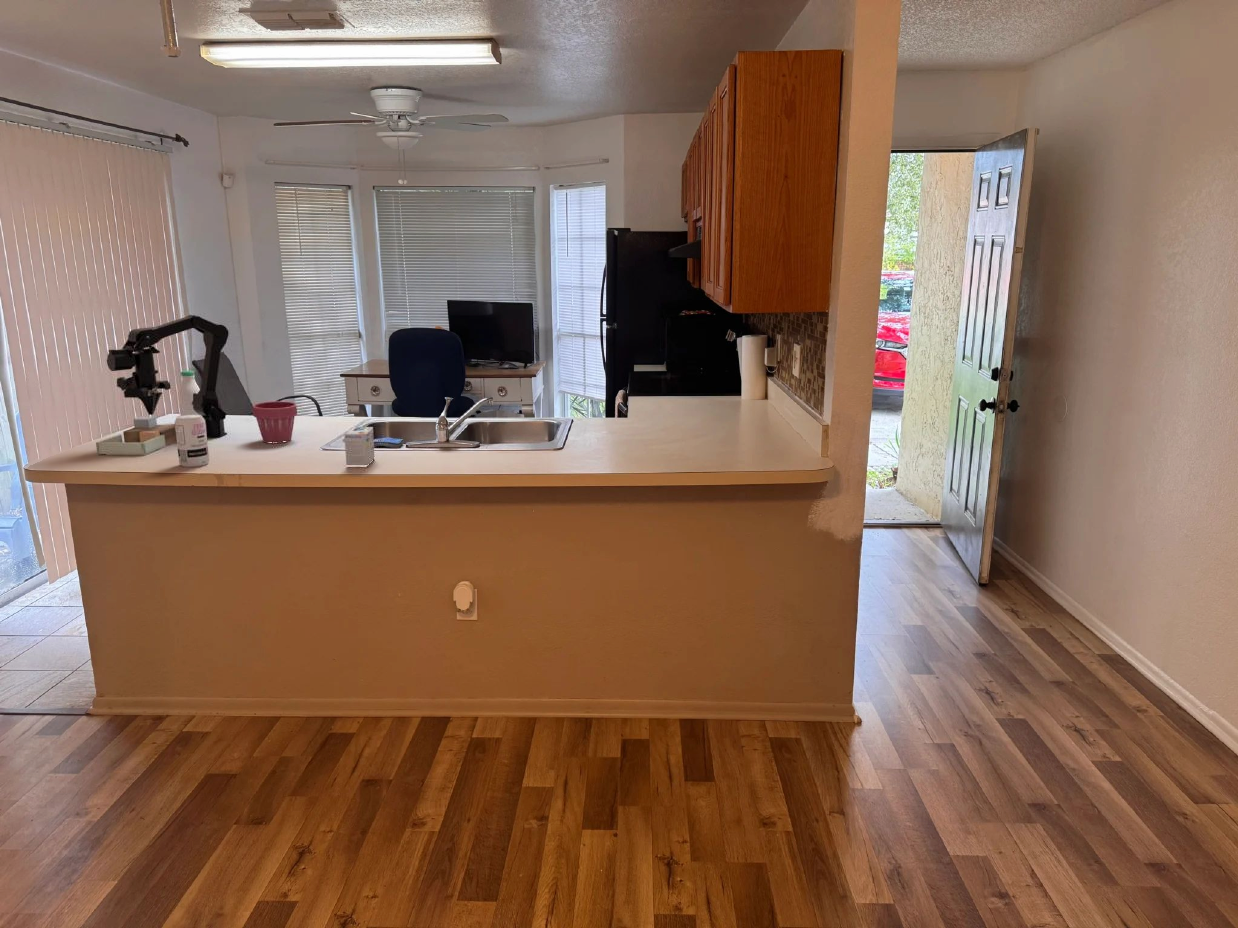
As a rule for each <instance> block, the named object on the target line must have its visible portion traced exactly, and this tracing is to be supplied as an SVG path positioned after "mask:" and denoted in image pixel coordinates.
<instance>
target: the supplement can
mask: <svg viewBox="0 0 1238 928" xmlns="http://www.w3.org/2000/svg"><path fill="white" fill-rule="evenodd" d="M174 425H175V430H176V439H177V441H176V446H177V454H178V464H179V465H181V466H182V467H183V468H197V467H198V468H199V467H203V466H205V465H206V466H207V465H208V463H210V457H209V456H210V454H209V447H208V437H207V435H206V425H205V420H204V418H203V417H202V415H198V414H189V415H181V414H180V415H177V416H176V418H175V420H174Z"/></svg>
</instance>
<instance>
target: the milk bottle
mask: <svg viewBox="0 0 1238 928" xmlns="http://www.w3.org/2000/svg"><path fill="white" fill-rule="evenodd" d="M195 374H196V373H195V371H194V370H181V371H180V377H181V383H180V387H179V390H178V402H179V403H178V404H179V411H180V413H179V414H180V416H181V415H189V414H198V413H196V412H195V410H194V409H193V405H192V404H191V403H192V402H193V393H197V394H198V392H199V391H200V389H201V388H200V387H199V385H198V384H197V382H196V379H195V377H196V376H195Z"/></svg>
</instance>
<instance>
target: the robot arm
mask: <svg viewBox="0 0 1238 928" xmlns="http://www.w3.org/2000/svg"><path fill="white" fill-rule="evenodd" d="M192 329H194V330H195V331H197V332H199V333H201V334H202V339H203V343H204V347H205V352H204V353H205V354H204V359H203V360H204V362H203V369H202V375H201V376H202V377H201V383H200V384H201V385H200V388H199V389H200V391H199V392H198V394H197V393H193V402H192V403H191V404H192V405H193V409H194V410H195V412H196V413H198V415H202V417H203V418H204V420H205V425H206V435H207V438H221V437H223V436H226V435H227V434H228V432H225V421H224V420H226V416H227V413H226V412H225V411H224V410H223V409H221V408H220V407H219V398H218V394H217V384H218V383H217V382H218V376H219V370H220V361H221V355H222V354H221V353H222V350H223V349H224V347H225V346H226V344H227V342H228V339H229V333H230V331H229V330H228V328H227V327H226V326H225V325H224V324H217V323H214V322H212V321H210V320H208V319H205V318H203V317H201V316H199V315H196V314H189V315H187V316H184V317H182V318H179V319H175V320H172V321H169V322H166V323H163V324H159V325H156V326H151V327H150V326H149V327H141V328H135V329H132V330H130V331H129V333H128V335H127V339H126V342H125V344H123V346H122V348H121V349H113V348H112V349H109V350H108V354H107V358H106V365H107V367H108V369H109V370H110V371H111V372H118V371H128V370H132V369H133V368H134V371H132V372H131V376H130V377H127V378H126V377H125V376H121V377H118V378H116V387H117V388H119V389H120V390H121V391H123V397H124V398H126V399H127V398H128V399H129V398H130V399H132V398H133V399H134V398H137V399H139V400H140V401H141V402H142V404H143V406H144V408H145V410H146V412H147V414H148V416H152V415H154V414H155V411H156V408H157V405H158V404H159V400H160V398H161V396H162V395H163V392H161V391H159V390H161V389H164V390H165V391H167V390H170V389H171V383H170V382H169V381H168V380H157V374H159V369H156V368H155V367H156V366H155V359H154V354H155V355H156V354H160V353H161V352H160V350H159V349H157V348H156V347H155V346H154V345H155V344H158V343H159V342H160V341H161V340H163V339H164V338H168V337H171V336H174V335H176V334H179V333H183V332H185V331H189V330H192Z"/></svg>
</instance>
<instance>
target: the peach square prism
mask: <svg viewBox="0 0 1238 928" xmlns="http://www.w3.org/2000/svg"><path fill="white" fill-rule="evenodd" d="M139 435H140V443H143V442H145V441H148V440H150V439H153V438H155V437H158V436H160V433H159V431H142V432H140V433H139Z"/></svg>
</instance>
